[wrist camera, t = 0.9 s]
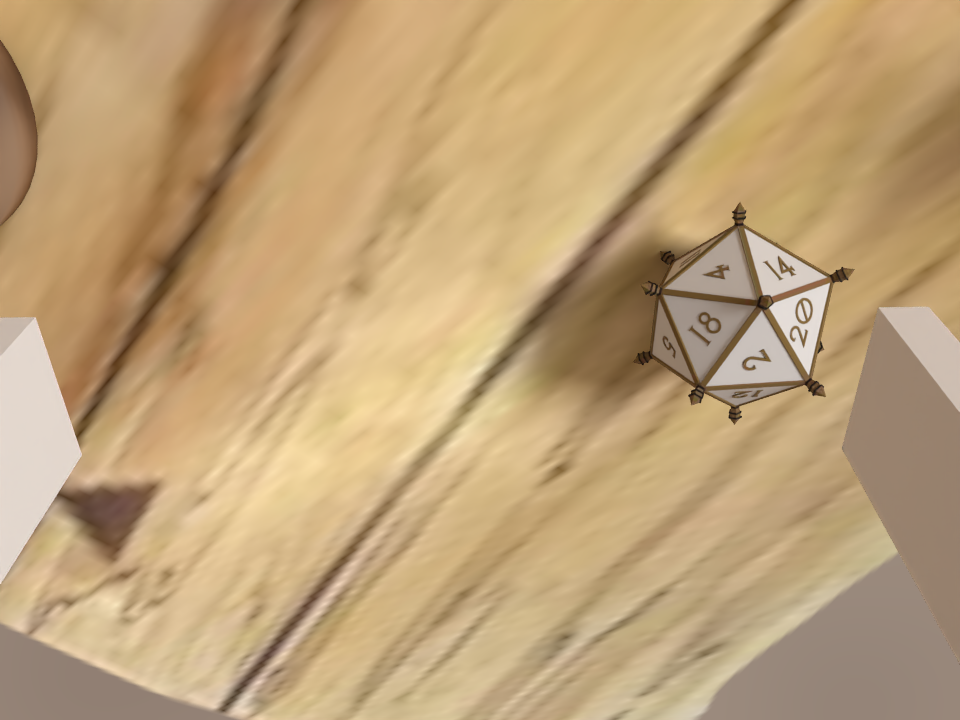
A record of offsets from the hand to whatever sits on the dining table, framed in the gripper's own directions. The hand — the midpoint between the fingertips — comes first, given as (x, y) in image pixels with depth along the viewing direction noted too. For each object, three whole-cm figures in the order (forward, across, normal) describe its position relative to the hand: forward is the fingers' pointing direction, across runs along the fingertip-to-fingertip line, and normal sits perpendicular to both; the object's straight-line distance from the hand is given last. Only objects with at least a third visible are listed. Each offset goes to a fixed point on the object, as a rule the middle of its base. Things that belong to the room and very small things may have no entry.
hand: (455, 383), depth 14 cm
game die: (+25, +11, -11) cm, 29 cm away
